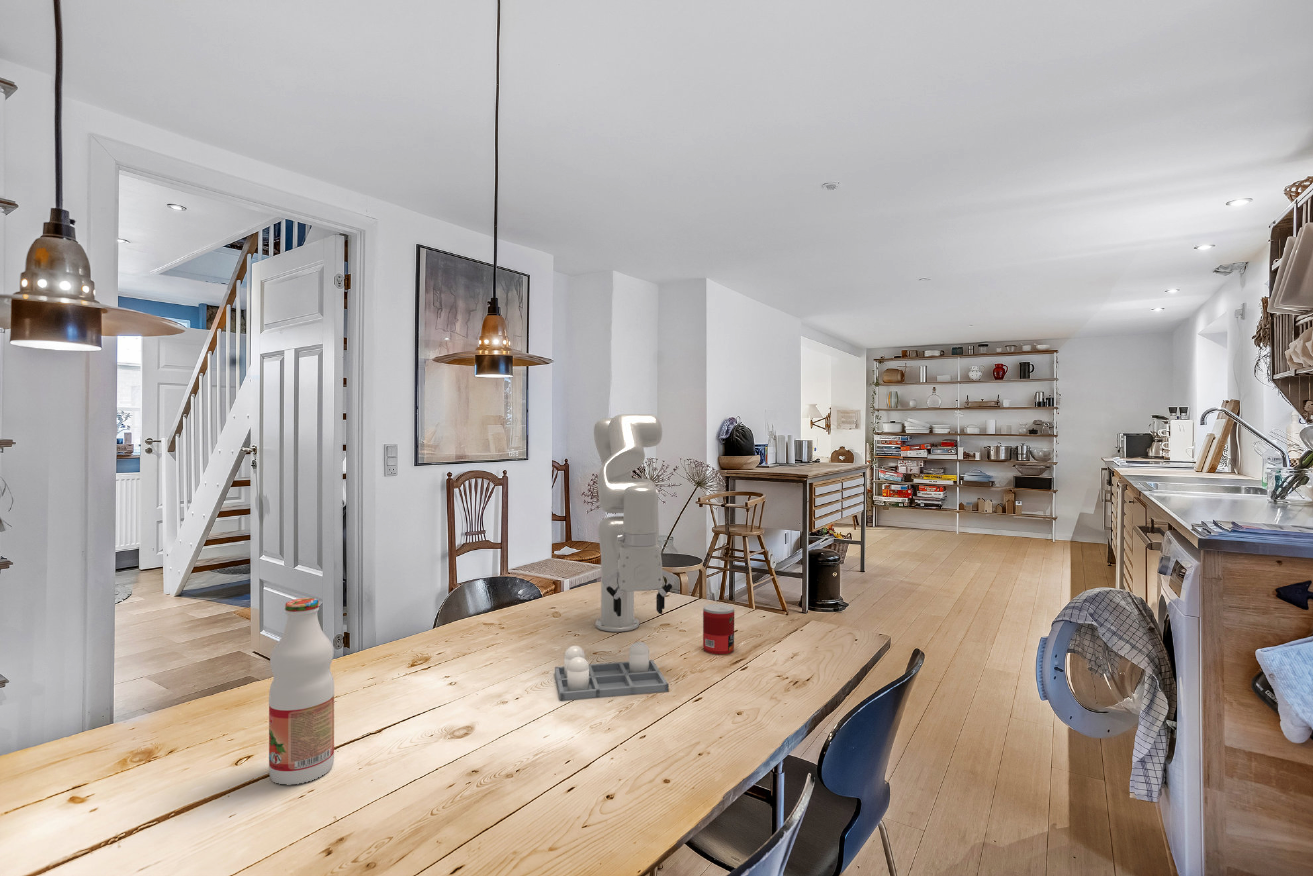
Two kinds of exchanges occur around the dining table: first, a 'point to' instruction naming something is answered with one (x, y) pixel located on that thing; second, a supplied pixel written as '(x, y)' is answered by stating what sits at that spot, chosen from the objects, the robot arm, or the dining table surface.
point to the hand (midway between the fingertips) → (639, 613)
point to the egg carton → (613, 681)
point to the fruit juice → (301, 698)
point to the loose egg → (638, 657)
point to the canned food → (718, 628)
